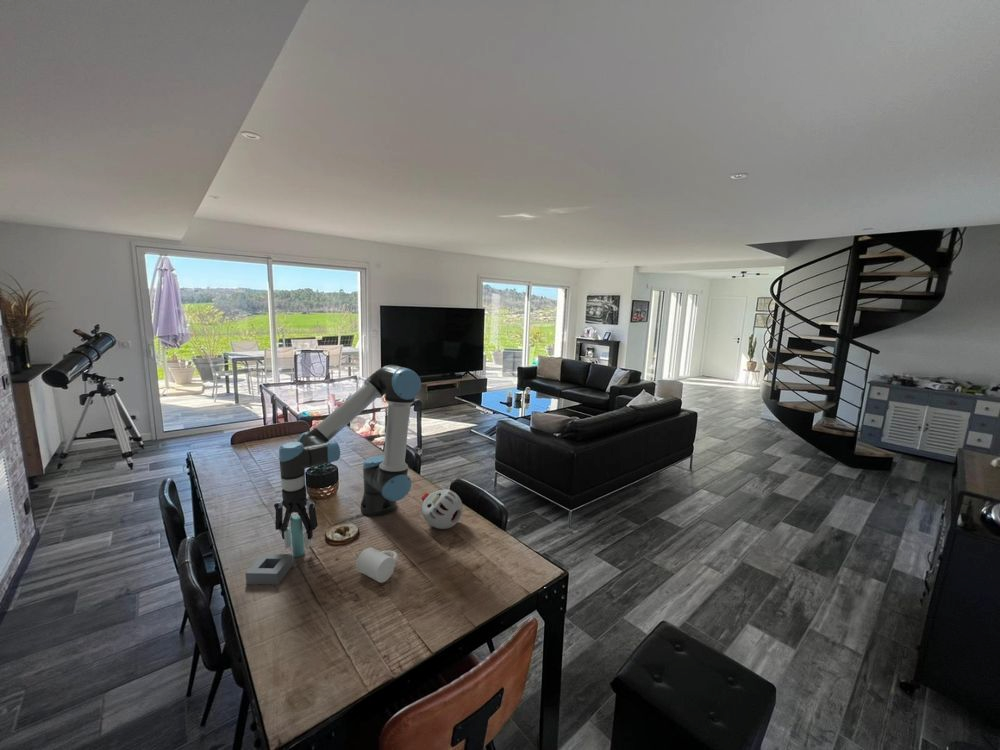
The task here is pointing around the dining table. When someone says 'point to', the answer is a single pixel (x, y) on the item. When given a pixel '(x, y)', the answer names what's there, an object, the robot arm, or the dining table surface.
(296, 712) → the dining table surface
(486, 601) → the dining table surface
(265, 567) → the socket
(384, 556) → the mug
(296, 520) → the peg
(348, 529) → the round brown cream disc
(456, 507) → the decorative object
